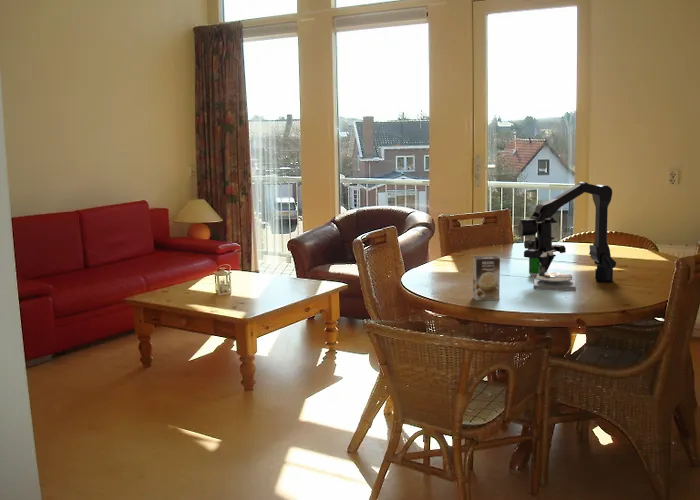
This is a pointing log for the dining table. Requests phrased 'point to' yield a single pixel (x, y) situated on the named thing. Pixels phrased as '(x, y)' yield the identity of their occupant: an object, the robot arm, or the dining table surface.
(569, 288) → the wheel base
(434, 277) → the dining table surface
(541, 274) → the handwheel
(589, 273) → the dining table surface
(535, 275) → the soda can
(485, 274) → the coffee box
